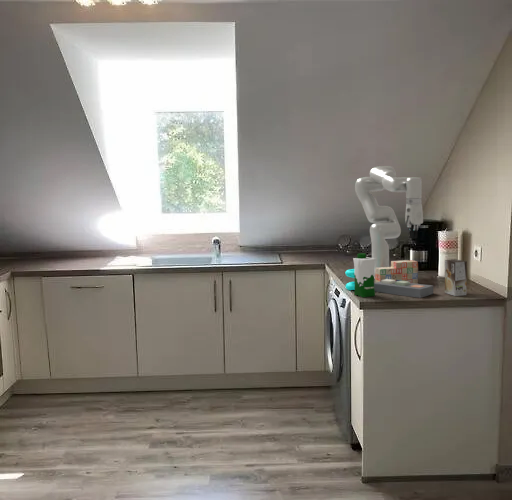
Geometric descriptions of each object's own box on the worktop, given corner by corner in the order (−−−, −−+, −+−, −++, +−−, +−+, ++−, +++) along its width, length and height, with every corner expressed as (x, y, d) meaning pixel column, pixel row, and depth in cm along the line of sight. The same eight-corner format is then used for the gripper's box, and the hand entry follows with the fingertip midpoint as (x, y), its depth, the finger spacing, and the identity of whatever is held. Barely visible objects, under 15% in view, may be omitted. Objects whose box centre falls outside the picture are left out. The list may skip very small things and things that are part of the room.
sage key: (395, 288, 259) (395, 282, 259) (400, 286, 263) (400, 280, 262) (404, 289, 256) (404, 283, 255) (409, 287, 259) (409, 281, 259)
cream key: (381, 286, 265) (381, 280, 265) (386, 284, 268) (386, 278, 268) (389, 287, 261) (389, 281, 261) (395, 285, 265) (395, 280, 264)
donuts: (347, 271, 265) (343, 268, 275) (347, 291, 266) (343, 288, 276) (367, 271, 265) (362, 268, 275) (367, 290, 266) (363, 287, 276)
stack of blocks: (380, 286, 277) (379, 263, 275) (375, 284, 283) (374, 261, 281) (417, 284, 281) (418, 261, 279) (412, 282, 287) (412, 259, 285)
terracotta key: (409, 292, 254) (409, 286, 253) (415, 290, 257) (415, 284, 257) (419, 293, 250) (419, 287, 250) (424, 292, 253) (424, 285, 253)
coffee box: (467, 295, 248) (467, 261, 247) (455, 296, 247) (455, 262, 245) (455, 291, 257) (456, 258, 256) (443, 292, 256) (444, 259, 254)
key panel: (372, 291, 265) (372, 283, 264) (386, 287, 273) (386, 280, 272) (420, 297, 246) (420, 289, 245) (433, 293, 254) (433, 285, 254)
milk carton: (366, 293, 261) (366, 252, 259) (378, 296, 253) (377, 254, 251) (351, 295, 257) (351, 253, 255) (362, 298, 249) (362, 255, 247)
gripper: (412, 202, 261) (412, 239, 263) (428, 201, 271) (427, 237, 273) (399, 202, 267) (399, 239, 269) (414, 201, 277) (414, 236, 279)
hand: (413, 238), depth 271 cm, fingers closed
